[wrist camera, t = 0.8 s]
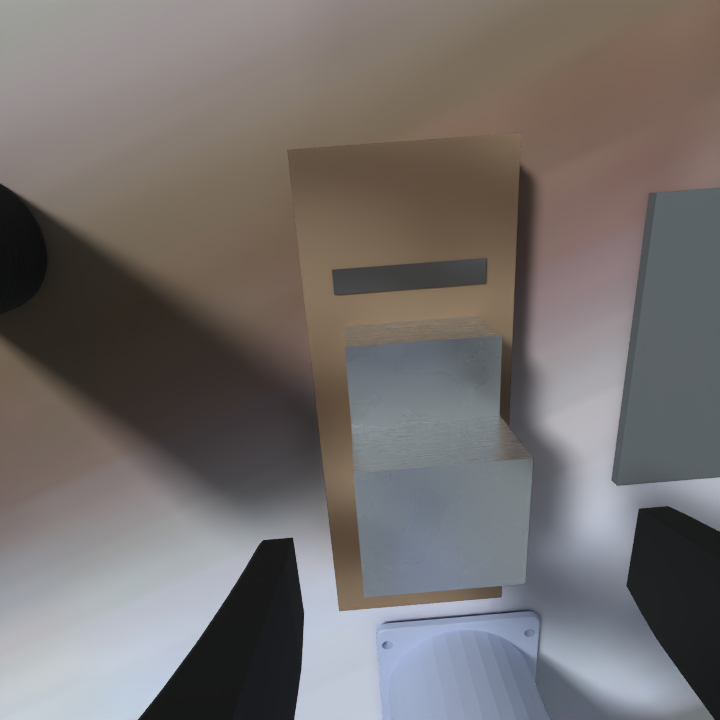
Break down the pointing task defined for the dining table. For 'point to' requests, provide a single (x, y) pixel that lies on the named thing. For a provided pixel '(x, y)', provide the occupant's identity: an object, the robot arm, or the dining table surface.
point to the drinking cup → (19, 252)
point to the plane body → (398, 283)
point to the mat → (674, 346)
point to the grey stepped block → (435, 458)
